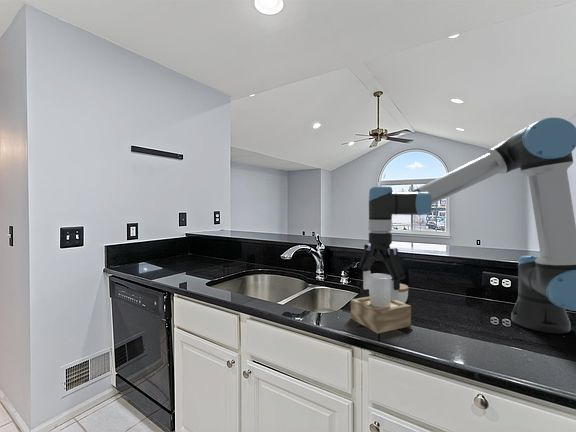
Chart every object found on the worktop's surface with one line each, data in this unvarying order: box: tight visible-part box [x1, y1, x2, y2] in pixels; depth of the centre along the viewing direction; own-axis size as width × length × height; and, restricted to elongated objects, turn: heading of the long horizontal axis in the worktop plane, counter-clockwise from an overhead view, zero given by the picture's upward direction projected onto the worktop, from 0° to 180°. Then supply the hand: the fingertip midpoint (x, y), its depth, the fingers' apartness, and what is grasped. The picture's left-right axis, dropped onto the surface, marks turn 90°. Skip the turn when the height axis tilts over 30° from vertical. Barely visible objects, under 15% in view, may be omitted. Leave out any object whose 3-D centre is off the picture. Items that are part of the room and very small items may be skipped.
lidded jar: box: [397, 283, 409, 304], centre depth 120 cm, size 11×11×9 cm
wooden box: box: [350, 296, 412, 334], centre depth 102 cm, size 14×14×7 cm
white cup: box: [368, 272, 392, 308], centre depth 102 cm, size 8×8×10 cm
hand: (379, 294), depth 102 cm, fingers open, 13 cm apart
